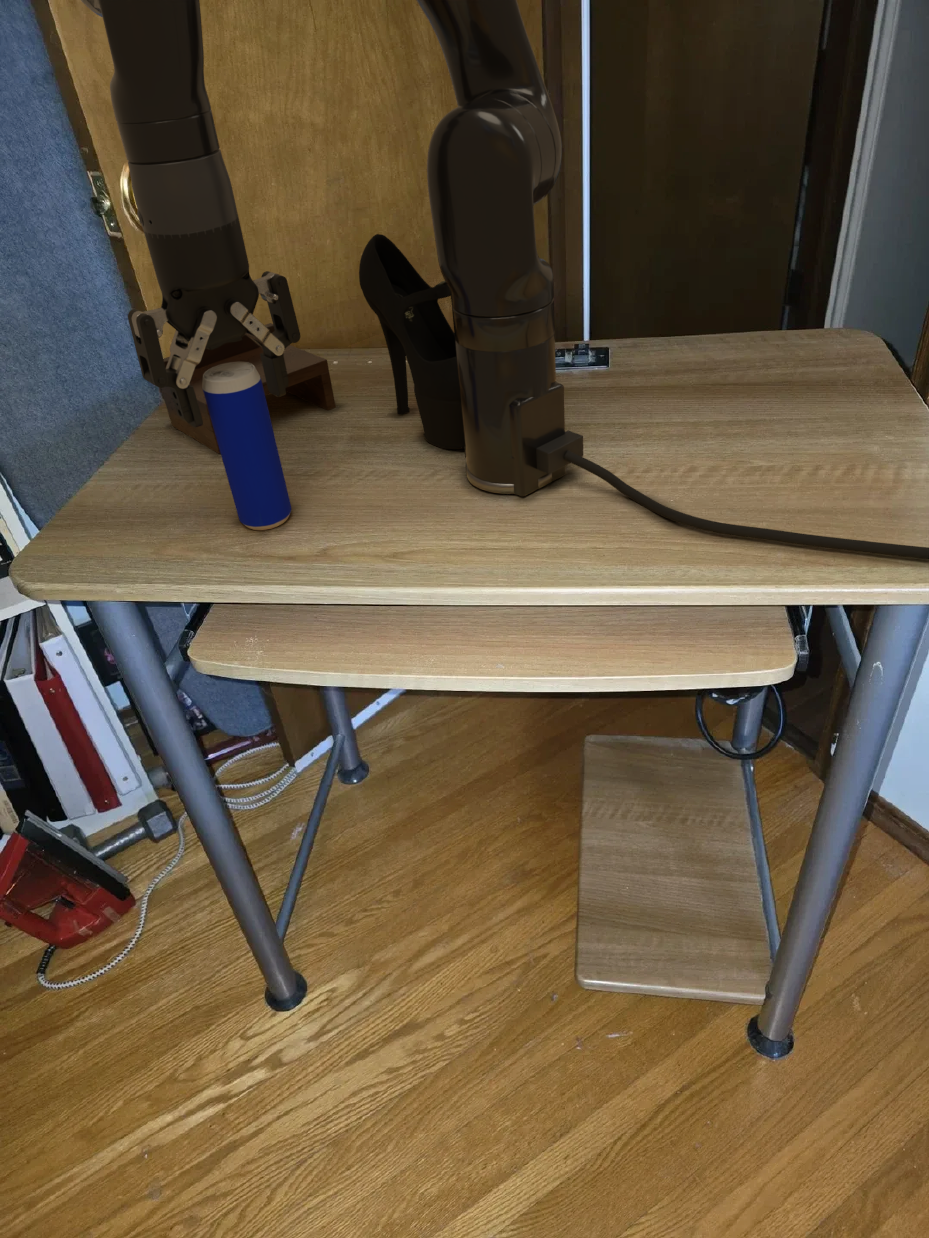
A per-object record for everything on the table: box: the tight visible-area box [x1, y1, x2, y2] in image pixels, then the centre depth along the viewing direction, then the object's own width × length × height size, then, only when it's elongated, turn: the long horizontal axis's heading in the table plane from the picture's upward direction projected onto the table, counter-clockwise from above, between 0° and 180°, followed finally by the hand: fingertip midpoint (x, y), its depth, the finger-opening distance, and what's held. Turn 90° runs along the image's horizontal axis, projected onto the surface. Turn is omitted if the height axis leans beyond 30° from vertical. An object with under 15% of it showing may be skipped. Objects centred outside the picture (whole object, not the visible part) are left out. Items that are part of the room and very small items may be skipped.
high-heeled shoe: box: [358, 233, 465, 450], centre depth 94 cm, size 8×19×20 cm, turn 39°
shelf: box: [160, 322, 337, 455], centre depth 105 cm, size 12×16×8 cm
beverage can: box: [202, 362, 292, 531], centre depth 82 cm, size 5×5×15 cm
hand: (237, 408), depth 80 cm, fingers open, 8 cm apart
